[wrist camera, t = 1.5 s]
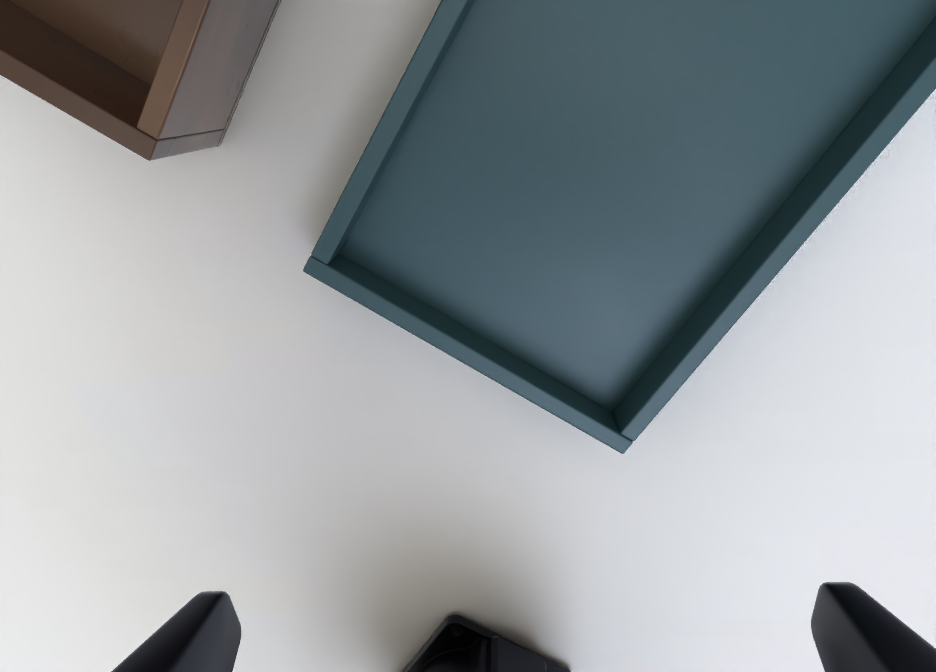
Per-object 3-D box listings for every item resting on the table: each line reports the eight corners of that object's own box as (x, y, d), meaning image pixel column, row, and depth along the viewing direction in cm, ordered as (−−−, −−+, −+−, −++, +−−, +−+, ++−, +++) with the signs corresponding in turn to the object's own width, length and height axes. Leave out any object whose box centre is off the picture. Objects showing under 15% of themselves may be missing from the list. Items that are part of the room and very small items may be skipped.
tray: (613, 424, 23) (623, 455, 21) (319, 254, 21) (301, 271, 19) (1059, -115, 16) (1134, -142, 14) (683, -443, 14) (711, -524, 12)
